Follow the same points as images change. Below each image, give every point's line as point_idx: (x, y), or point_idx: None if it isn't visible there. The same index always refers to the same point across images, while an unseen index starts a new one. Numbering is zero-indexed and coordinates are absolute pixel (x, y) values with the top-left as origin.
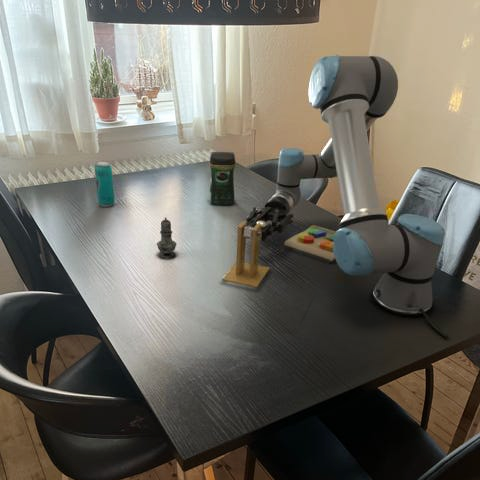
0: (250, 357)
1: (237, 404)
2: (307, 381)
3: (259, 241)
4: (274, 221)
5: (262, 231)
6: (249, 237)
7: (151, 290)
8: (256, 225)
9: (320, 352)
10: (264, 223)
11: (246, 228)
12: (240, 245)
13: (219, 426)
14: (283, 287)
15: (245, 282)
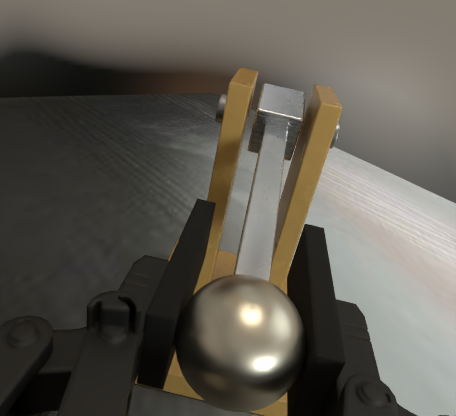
0: (170, 133)
1: (179, 105)
2: (87, 107)
3: (211, 179)
4: (90, 409)
5: (212, 207)
6: (288, 277)
7: (441, 252)
8: (251, 80)
9: (46, 127)
10: (219, 280)
11: (292, 93)
12: (288, 172)
13: (193, 98)
14: (70, 277)
15: (219, 256)
